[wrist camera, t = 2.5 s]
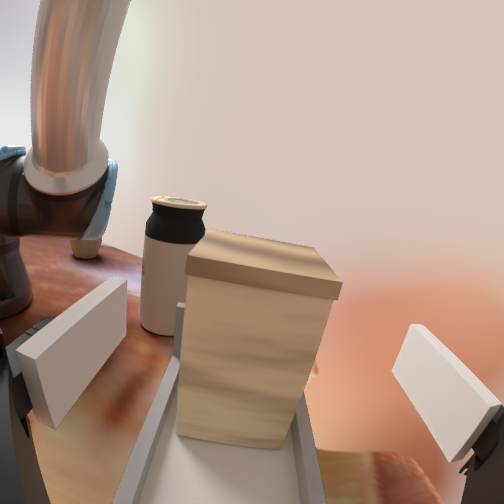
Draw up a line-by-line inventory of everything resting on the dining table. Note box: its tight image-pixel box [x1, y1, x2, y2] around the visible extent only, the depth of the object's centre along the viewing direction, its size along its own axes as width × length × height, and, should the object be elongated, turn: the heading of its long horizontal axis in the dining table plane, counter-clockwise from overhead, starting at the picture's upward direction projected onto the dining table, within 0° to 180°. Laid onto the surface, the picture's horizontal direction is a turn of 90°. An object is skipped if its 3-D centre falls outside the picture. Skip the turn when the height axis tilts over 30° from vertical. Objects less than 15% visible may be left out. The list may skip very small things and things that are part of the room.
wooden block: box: [176, 229, 342, 449], centre depth 24 cm, size 9×9×16 cm
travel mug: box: [140, 196, 207, 336], centre depth 40 cm, size 8×8×18 cm
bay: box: [112, 302, 326, 504], centre depth 18 cm, size 26×14×9 cm, turn 179°
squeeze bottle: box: [70, 237, 102, 259], centre depth 59 cm, size 8×8×18 cm
